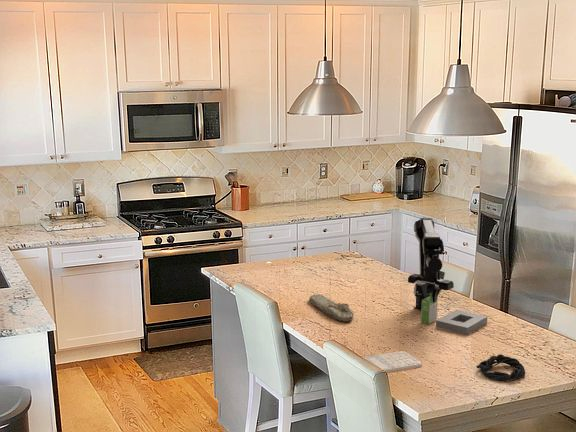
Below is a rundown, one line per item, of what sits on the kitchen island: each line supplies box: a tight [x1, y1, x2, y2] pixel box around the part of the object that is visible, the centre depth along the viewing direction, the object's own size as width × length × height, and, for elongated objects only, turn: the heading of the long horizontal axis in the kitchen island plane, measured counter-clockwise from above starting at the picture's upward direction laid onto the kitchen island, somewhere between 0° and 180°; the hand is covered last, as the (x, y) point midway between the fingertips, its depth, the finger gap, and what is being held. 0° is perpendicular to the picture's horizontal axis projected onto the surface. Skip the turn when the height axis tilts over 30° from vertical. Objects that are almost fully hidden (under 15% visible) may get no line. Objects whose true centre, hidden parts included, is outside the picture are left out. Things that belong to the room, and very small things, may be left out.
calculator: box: [362, 350, 423, 373], centre depth 265 cm, size 13×20×2 cm, turn 112°
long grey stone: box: [308, 294, 354, 323], centre depth 324 cm, size 35×5×10 cm
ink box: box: [420, 292, 439, 325], centre depth 309 cm, size 7×4×13 cm, turn 141°
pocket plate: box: [435, 309, 488, 336], centre depth 305 cm, size 14×18×3 cm
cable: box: [475, 354, 526, 382], centre depth 257 cm, size 17×14×4 cm
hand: (429, 301), depth 309 cm, fingers closed on ink box, 4 cm apart
